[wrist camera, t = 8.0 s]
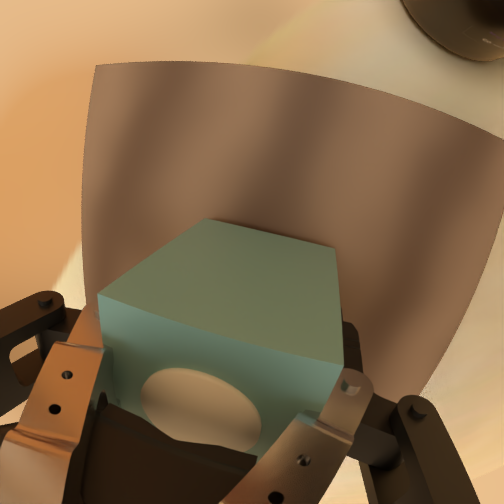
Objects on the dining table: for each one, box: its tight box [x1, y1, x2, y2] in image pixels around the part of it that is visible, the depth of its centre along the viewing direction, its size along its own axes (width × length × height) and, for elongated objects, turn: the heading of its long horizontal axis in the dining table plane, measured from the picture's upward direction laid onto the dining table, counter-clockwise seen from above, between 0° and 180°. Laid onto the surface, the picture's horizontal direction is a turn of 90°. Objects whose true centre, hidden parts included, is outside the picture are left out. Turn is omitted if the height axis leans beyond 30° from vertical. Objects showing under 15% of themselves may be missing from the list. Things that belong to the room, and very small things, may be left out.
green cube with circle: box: [97, 218, 344, 464], centre depth 10 cm, size 5×5×7 cm
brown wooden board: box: [82, 61, 504, 403], centre depth 12 cm, size 20×18×9 cm
